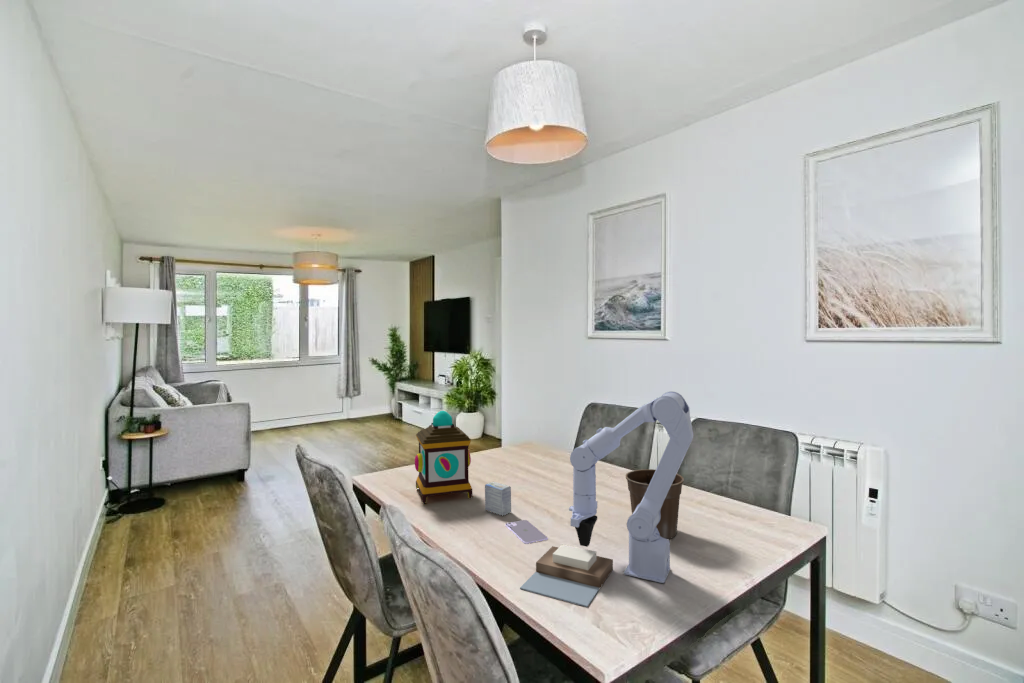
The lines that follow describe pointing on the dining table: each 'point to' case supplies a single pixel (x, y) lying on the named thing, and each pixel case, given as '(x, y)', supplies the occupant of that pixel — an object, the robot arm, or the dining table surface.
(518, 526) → the mobile phone
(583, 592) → the slate mat
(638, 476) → the plant pot
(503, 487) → the stack of paper
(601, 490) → the dining table surface
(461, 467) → the decorative lantern
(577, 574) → the walnut board
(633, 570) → the robot arm
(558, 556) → the cream block
